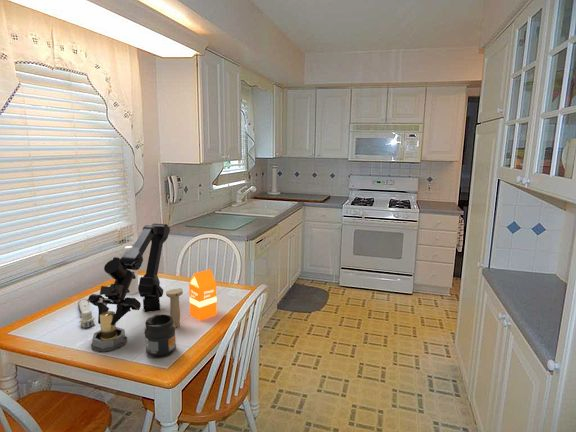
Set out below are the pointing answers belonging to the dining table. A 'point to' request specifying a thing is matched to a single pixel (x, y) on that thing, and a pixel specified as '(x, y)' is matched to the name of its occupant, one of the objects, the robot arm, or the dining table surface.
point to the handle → (175, 304)
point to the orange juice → (203, 295)
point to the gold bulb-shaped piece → (107, 325)
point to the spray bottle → (134, 282)
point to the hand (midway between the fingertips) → (105, 324)
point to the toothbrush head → (85, 313)
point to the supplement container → (160, 336)
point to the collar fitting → (108, 341)
